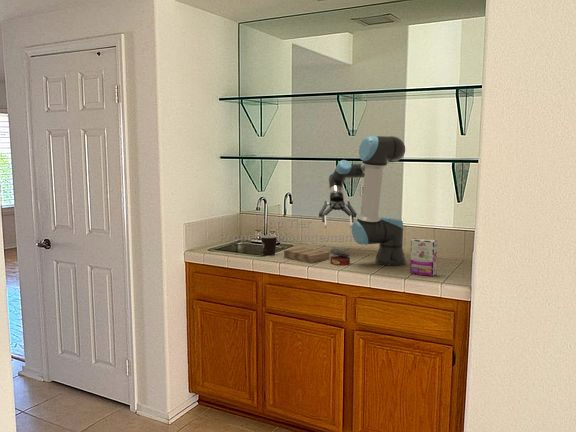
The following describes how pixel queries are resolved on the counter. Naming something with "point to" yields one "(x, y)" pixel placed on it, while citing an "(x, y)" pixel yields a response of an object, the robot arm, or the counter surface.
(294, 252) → the block
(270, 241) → the coffee mug
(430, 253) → the candy bar box
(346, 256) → the canned food
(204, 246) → the counter surface
